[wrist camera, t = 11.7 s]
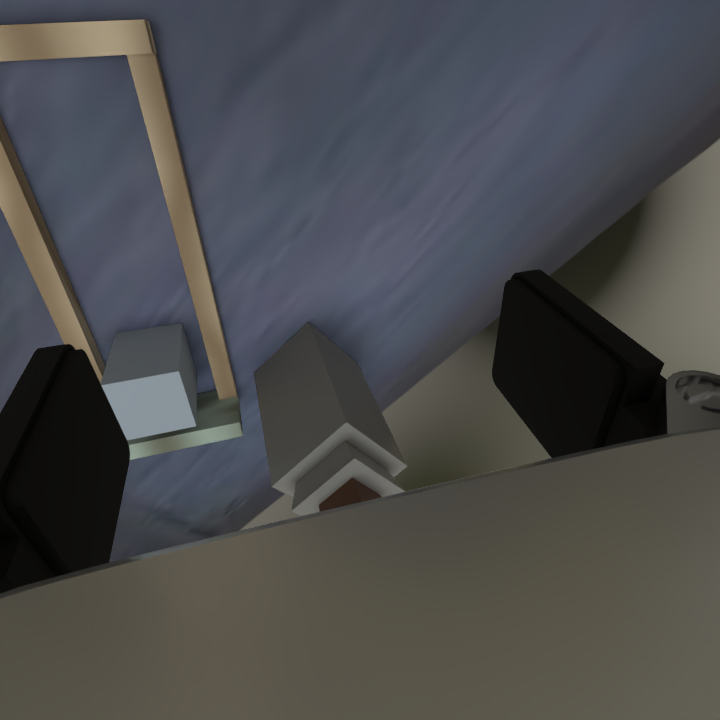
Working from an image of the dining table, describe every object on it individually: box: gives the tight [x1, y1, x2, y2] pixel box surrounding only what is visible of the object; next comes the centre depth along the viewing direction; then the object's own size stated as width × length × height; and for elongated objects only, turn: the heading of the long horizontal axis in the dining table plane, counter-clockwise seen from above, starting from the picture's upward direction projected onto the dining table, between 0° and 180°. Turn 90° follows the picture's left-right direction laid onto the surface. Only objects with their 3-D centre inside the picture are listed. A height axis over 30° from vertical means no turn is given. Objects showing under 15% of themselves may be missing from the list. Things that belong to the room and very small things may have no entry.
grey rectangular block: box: [101, 323, 197, 440], centre depth 36 cm, size 5×5×7 cm
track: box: [0, 19, 243, 460], centre depth 32 cm, size 11×28×5 cm, turn 2°
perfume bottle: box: [254, 322, 407, 516], centre depth 36 cm, size 7×7×18 cm
